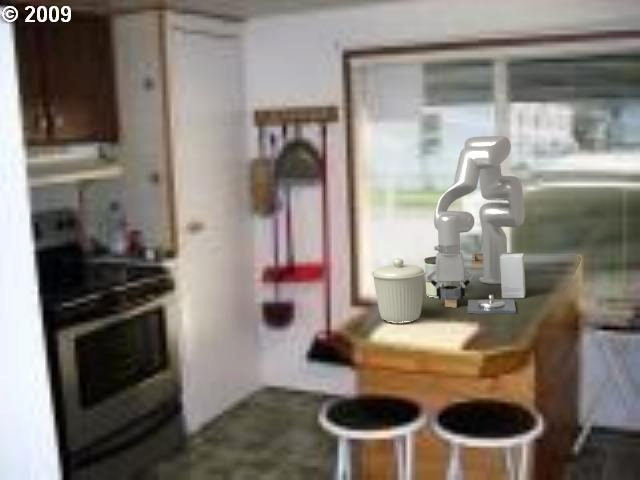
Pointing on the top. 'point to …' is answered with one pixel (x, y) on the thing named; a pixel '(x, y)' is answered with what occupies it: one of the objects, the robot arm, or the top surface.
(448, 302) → the stand
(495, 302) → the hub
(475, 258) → the dish frame
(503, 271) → the skincare box
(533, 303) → the top surface
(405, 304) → the canister
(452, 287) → the plate ring
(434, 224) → the robot arm
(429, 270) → the coffee can
